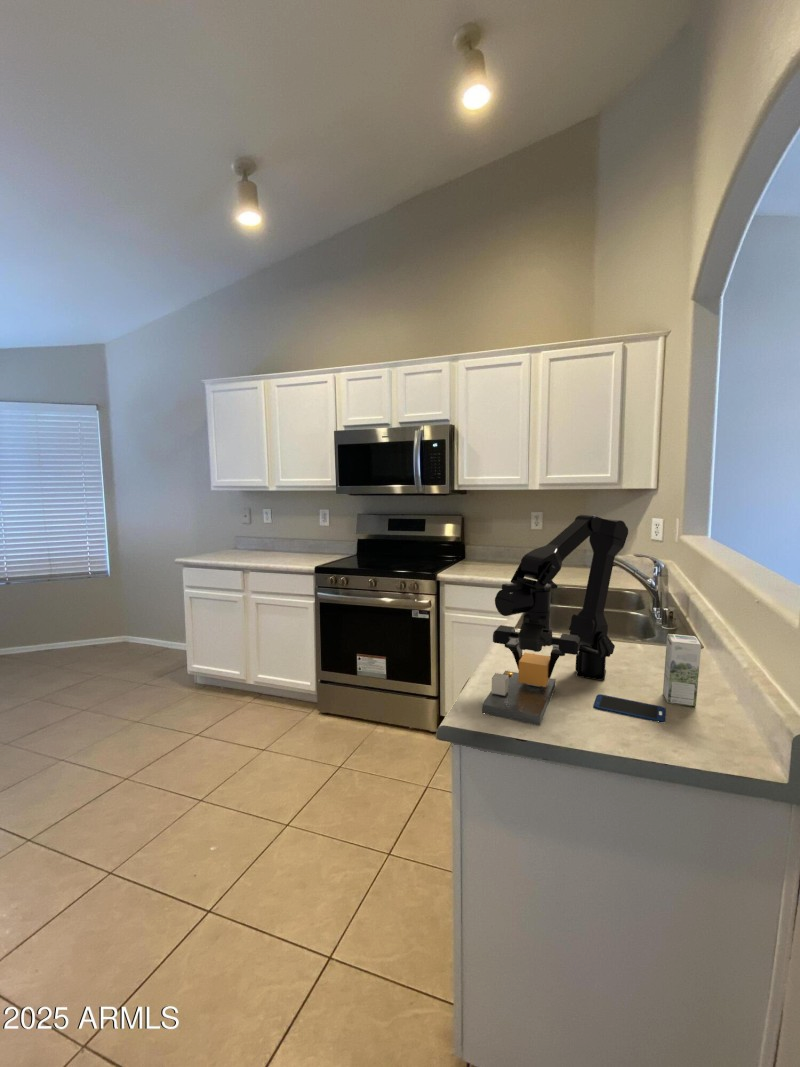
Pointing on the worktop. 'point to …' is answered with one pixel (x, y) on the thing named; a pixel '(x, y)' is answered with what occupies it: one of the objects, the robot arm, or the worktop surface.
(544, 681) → the orange squarish block
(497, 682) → the block
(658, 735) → the worktop surface
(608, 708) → the cell phone
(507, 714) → the panel
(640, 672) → the worktop surface
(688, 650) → the syrup box
